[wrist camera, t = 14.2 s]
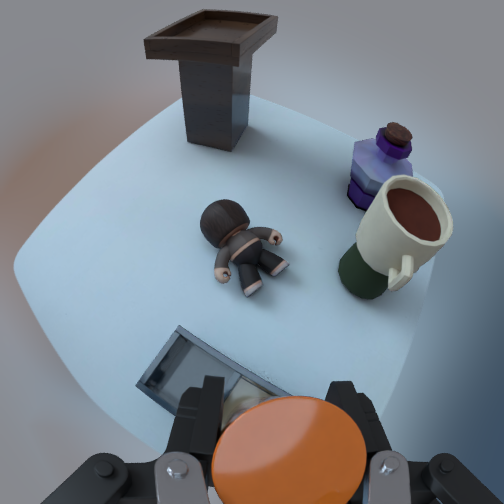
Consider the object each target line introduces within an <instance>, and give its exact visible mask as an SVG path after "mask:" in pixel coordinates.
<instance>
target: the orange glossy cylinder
mask: <svg viewBox="0 0 504 504" xmlns="http://www.w3.org/2000/svg"><path fill="white" fill-rule="evenodd" d="M366 458H367V454H366V445H365V441H364V438H363V435H362V433H361V431H360V429H359V427H358V426H357V424H356V423H355V421H354V420H353V419H352V418H351V417H350V416H349V415H348V414H347V413H346V412H345V411H344V410H342V409H341V408H339V407H338V406H336V405H334V404H332V403H330V402H328V401H325V400H322V399H318V398H314V397H308V396H268V397H255V398H251V399H248V400H245V401H243V402H242V403H240V404H239V405H237V406H236V407H235V408H234V409H233V410H232V411H231V412H230V414H229V415H228V417H227V419H226V421H225V424H224V426H223V429H222V431H221V434H220V437H219V439H218V442H217V444H216V447H215V450H214V453H213V457H212V463H211V474H212V481H213V484H214V487H215V490H216V492H217V494H218V496H219V498H220V499H221V501H222V502H223V504H346V503H347V502H348V501H349V500H350V499H351V497H352V496H353V495H354V493H355V492H356V490H357V489H358V487H359V485H360V483H361V481H362V478H363V475H364V472H365V467H366Z"/></svg>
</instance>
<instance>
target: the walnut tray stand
mask: <svg viewBox="0 0 504 504" xmlns="http://www.w3.org/2000/svg"><path fill="white" fill-rule="evenodd" d="M277 21H278V16H272V15H267V14H259V13H251V12H241V11H228V10H207V9H202V10H200V11H197V12H195V13H193V14H191V15H189V16H187V17H185V18H183V19H180V20H179V21H176V22H174V23H172V24H171V25H168V26H167V27H165V28H163V29H161V30H159V31H157V32H155V33H154V34H152V35H150V36H148V37H147V38H145V39H144V46H145V53H146V59H161V60H178V61H179V72H180V82H181V91H182V100H183V109H184V118H185V126H186V134H187V142H191V143H196V144H200V145H205V146H209V147H213V148H218V149H222V150H226V151H230V152H231V151H232V150H233V148H234V147H235V145H236V143H237V142H238V140H239V138H240V137H241V135H242V133H243V132H244V130H245V129H246V127H247V126H248V113H249V98H250V82H251V68H252V54H253V53H254V52H255V51H256V50H257V49H258V48H260V47H261V46H262V45H263V44H264V43H265V42H266V41H267V40H268V39H270V38H271V37H272V36H273V35H274V34H275V33H276V30H277Z"/></svg>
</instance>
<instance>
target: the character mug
mask: <svg viewBox="0 0 504 504" xmlns="http://www.w3.org/2000/svg"><path fill="white" fill-rule="evenodd" d="M452 231H453V221H452V216H451V214H450V211H449V209H448V207H447V205H446V204H445V202H444V201H443V199H442V198H441V196H440V195H439V194H438V193H437V192H436V191H435V190H433V189H432V188H431V187H430V186H429V185H428V184H426V183H424V182H423V181H421V180H419V179H418V178H415V177H411V176H407V175H397V176H392V177H391V178H390V179H388V180H387V181H386V182H384V184H383V185H382V187H381V188H380V190H379V192H378V194H377V195H376V197H375V199H374V200H373V202H372V204H371V205H370V207H369V208H368V210H367V212H366V213H365V215H364V217H363V218H362V220H361V222H360V225H359V228H358V230H357V233H356V241H357V242H356V243H355V244H353V245H352V247H351V248H350V249H349V250H348V251H347V252H346V253H345V254H344V256H343V257H342V258H341V259H340V263H339V269H338V272H339V275H340V278H341V281H342V283H343V284H344V285H345V287H346V288H347V289H348V290H349V291H350V292H351V293H353V294H355V295H357V296H359V297H360V298H365V299H374V298H376V297H378V296H380V295H382V293H383V292H384V291H385V290H386V289H387V288H388V289H389V290H390V291H391V292H392V291H397V290H399V289H400V288H402V287H403V286H404V285H405V284H407V283H408V282H409V281H410V280H411V278H412V276H413V273H415V272H416V271H417V270H418V269H419V267H420V266H422V265H423V264H425V263H426V262H428V261H429V260H430V259H431V258H432V257H433V256H434V255H435V254H436V253H437V252H438V251H439V250H440V249H441V248H442V247H443V246H444V244H445V243H446V242H447V241H448V239H449V238H450V237H451V235H452Z"/></svg>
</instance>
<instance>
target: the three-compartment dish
mask: <svg viewBox="0 0 504 504" xmlns="http://www.w3.org/2000/svg"><path fill="white" fill-rule="evenodd" d="M205 375H210V376H219V377H225V384H224V406H223V418H222V427H221V431H222V429H223V426H224V424H225V421H226V419H227V417H228V415H229V414H230V412H231V411H232V410H233V409H234V408H235V407H236V406H237V405H239V404H240V403H242V402H243V401H245V400H248V399H251V398H255V397H268V396H292V395H291V394H289V393H287V392H285V391H283V390H282V389H280V388H278V387H276V386H274V385H273V384H271V383H269V382H267V381H266V380H264V379H262V378H261V377H259V376H257V375H255V374H254V373H252V372H250V371H249V370H247V369H245V368H244V367H242V366H241V365H239V364H237V363H236V362H234V361H232V360H231V359H229V358H228V357H226V356H225V355H223V354H221V353H220V352H218V351H217V350H215V349H214V348H212V347H211V346H209V345H208V344H206V343H205V342H203V341H202V340H200V339H199V338H197V337H196V336H194V335H193V334H191V333H190V332H188V331H187V330H186V329H184V328H183V327H181V326H180V325H179V326H178V327H177V329H176V330H175V331H174V333H173V334H172V335H171V337H170V338H169V340H168V341H167V342H166V344H165V345H164V346H163V348H162V349H161V351H160V352H159V353H158V355H157V356H156V357H155V359H154V360H153V362H152V363H151V364H150V366H149V367H148V369H147V370H146V371H145V373H144V374H143V375H142V377H141V378H140V380H139V381H138V382H137V384H136V385H135V386H136V387H137V388H138V389H140V390H141V391H142V392H143V393H145V394H146V395H147V396H149V397H150V398H151V399H153V400H154V401H155V402H156V403H158V404H159V405H160V406H162V407H163V408H165V409H166V410H167V411H169V412H170V413H172V414H173V415H174V416H176V412H177V409H178V405H179V402H180V398H181V395H182V394H183V393H184V392H185V391H186V390H187V389H188V388H189V387H198V388H202V386H203V381H204V377H205Z"/></svg>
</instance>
